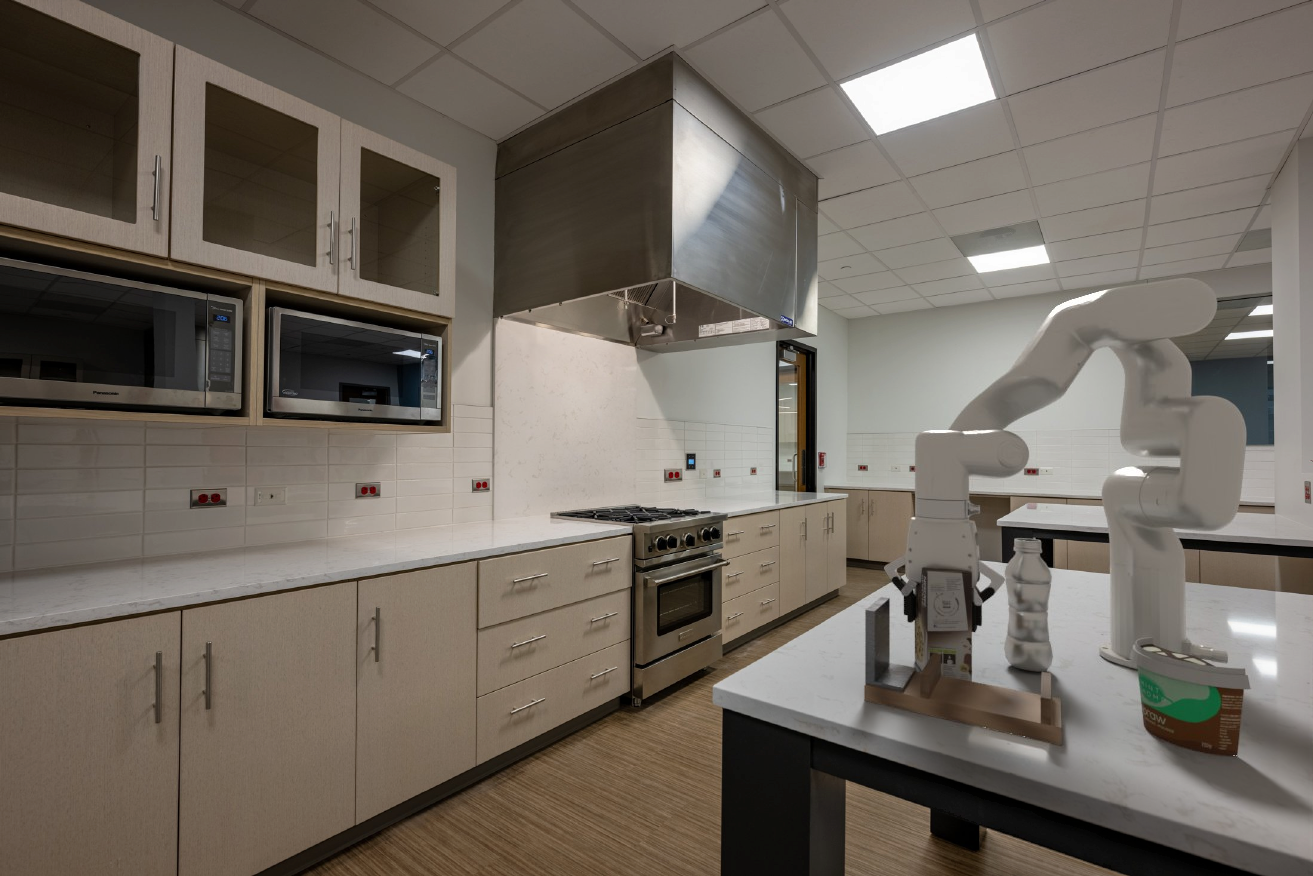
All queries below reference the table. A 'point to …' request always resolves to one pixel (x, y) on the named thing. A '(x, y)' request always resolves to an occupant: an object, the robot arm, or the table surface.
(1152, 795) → the table surface
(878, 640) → the bookend
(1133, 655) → the food container
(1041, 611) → the plastic bottle
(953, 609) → the coffee box
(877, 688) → the book rack
